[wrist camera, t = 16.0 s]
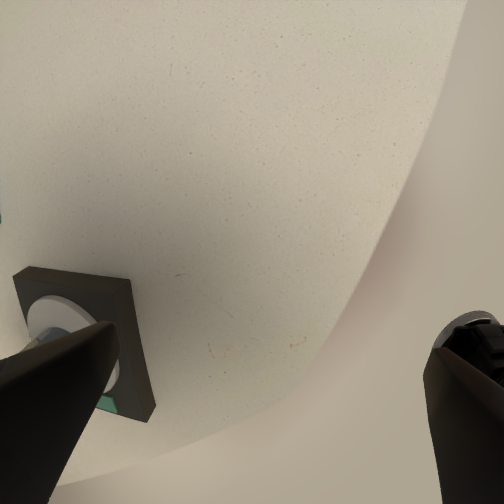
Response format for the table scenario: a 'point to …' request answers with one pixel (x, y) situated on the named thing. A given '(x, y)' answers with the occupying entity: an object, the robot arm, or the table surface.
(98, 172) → the table surface
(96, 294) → the scale
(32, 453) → the robot arm
